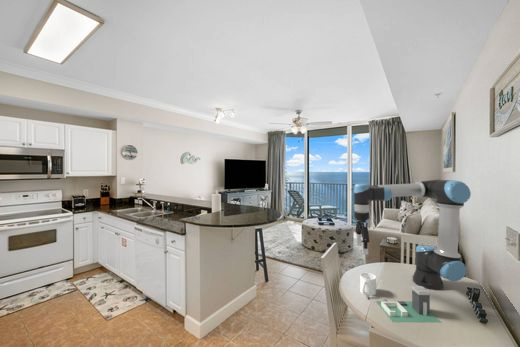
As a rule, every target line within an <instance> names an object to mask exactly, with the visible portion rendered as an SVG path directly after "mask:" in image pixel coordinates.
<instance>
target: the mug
mask: <svg viewBox="0 0 520 347" xmlns="http://www.w3.org/2000/svg"><path fill="white" fill-rule="evenodd" d="M359 291H360V294H361V295H362V296H364V297H366V298H368V297H369V296H370V297H372V296H376V295H377V276H376V275H375V274H372V273H369V272H361V273H360V275H359Z"/></svg>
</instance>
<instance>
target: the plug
mask: <svg viewBox="0 0 520 347" xmlns="http://www.w3.org/2000/svg"><path fill="white" fill-rule="evenodd" d="M430 295H431V291H430V290H429V289H428V288H424V287H423V286H419V285H412V286H411V301H412V308H413V309H414V310H415V311H416V312H417V313H418V314H423V315H427V314H430V312H431V311H430V310H431V308H430V307H431V305H430V304H431V303H430V302H431V299H430Z"/></svg>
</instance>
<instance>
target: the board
mask: <svg viewBox="0 0 520 347" xmlns="http://www.w3.org/2000/svg"><path fill="white" fill-rule="evenodd" d="M382 301H383V302H398V303H399V304H400V305H401V306H402V307H403V308H404V309H405V310H406V311H407V312H408V316H401V311H400V310H399V309H398V308H397V307H388V308H389V309H390V310H391V311H395V312H396V316H389V314H388V313H387V312H386V311H385V310H384V309H383V307H382V306H381V300H380V301H379V300H376V301H375V302H376V304H377V305H378V306H379V307H380V308H381V310H382V311H383V312H384V313H385V315H386V316H387V317H388V318H389V319H390V321H391V322H392V323H442V321H441V320H440V319H439V318H437V317H436V316H435V315H434V314H433V313H432V312H431V311H430V314H427V315H423V314H418V313H417V312H416V311H415V310H414V309H413V308H412V300H411V301H410V300H409V301H403V300H402V301H399V300H397V301H396V300H395V301H394V300H390V301H389V300H388V299H386V298H383V300H382Z"/></svg>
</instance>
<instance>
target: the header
mask: <svg viewBox="0 0 520 347" xmlns="http://www.w3.org/2000/svg"><path fill="white" fill-rule="evenodd" d="M380 301H381V300H380ZM381 306H382V307H383V309H384V310H385V311H386V312H387V313H388V314H389V316H396V312H395V311H391V310H390V309H389V308H388V307H397V308H398V309H399V310H400V311H401V316H408V312H407V311H406V310H405V309H404V308H403V307H402V306H401V305H400V304H399V303H398V302H383V300H382V301H381Z"/></svg>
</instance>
